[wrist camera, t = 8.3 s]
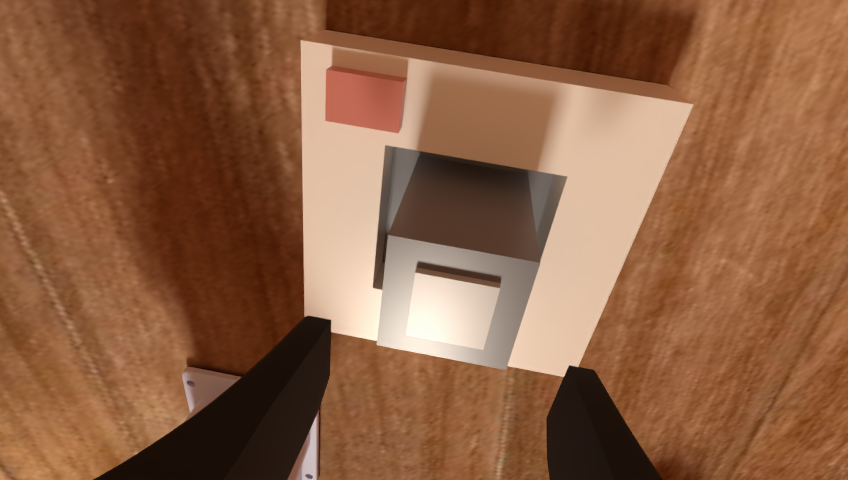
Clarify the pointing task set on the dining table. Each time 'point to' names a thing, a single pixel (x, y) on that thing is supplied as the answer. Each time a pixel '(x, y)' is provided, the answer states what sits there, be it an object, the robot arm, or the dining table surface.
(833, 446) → the dining table surface
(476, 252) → the plug
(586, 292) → the socket
